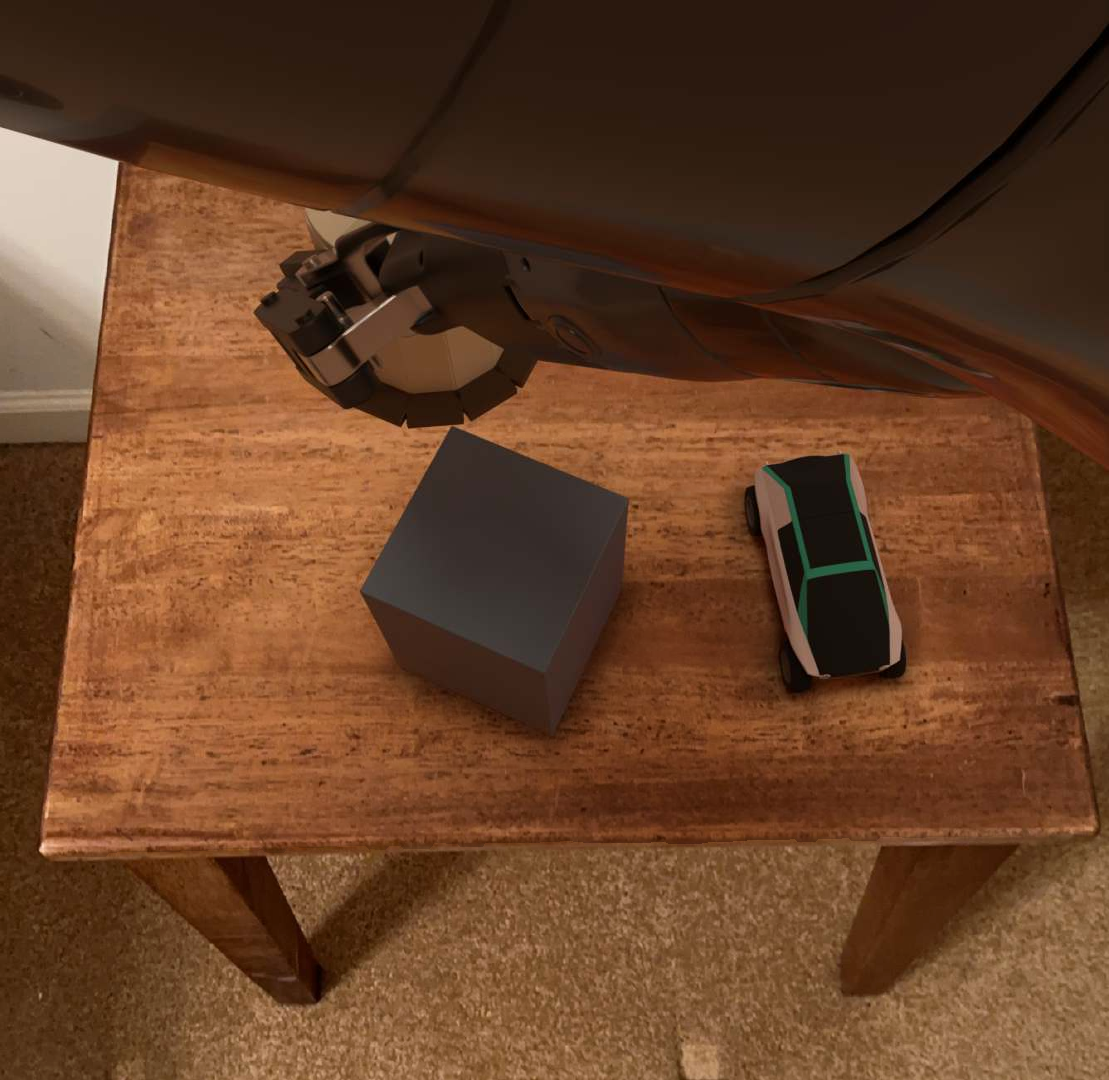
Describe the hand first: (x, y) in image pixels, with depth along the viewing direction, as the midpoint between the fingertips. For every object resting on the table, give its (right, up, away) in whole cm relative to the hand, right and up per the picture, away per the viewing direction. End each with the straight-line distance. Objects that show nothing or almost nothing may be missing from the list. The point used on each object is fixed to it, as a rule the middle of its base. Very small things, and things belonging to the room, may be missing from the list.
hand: (381, 225), depth 40 cm
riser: (+4, -15, +24) cm, 28 cm away
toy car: (+20, -13, +24) cm, 34 cm away
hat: (+1, -3, +4) cm, 5 cm away
